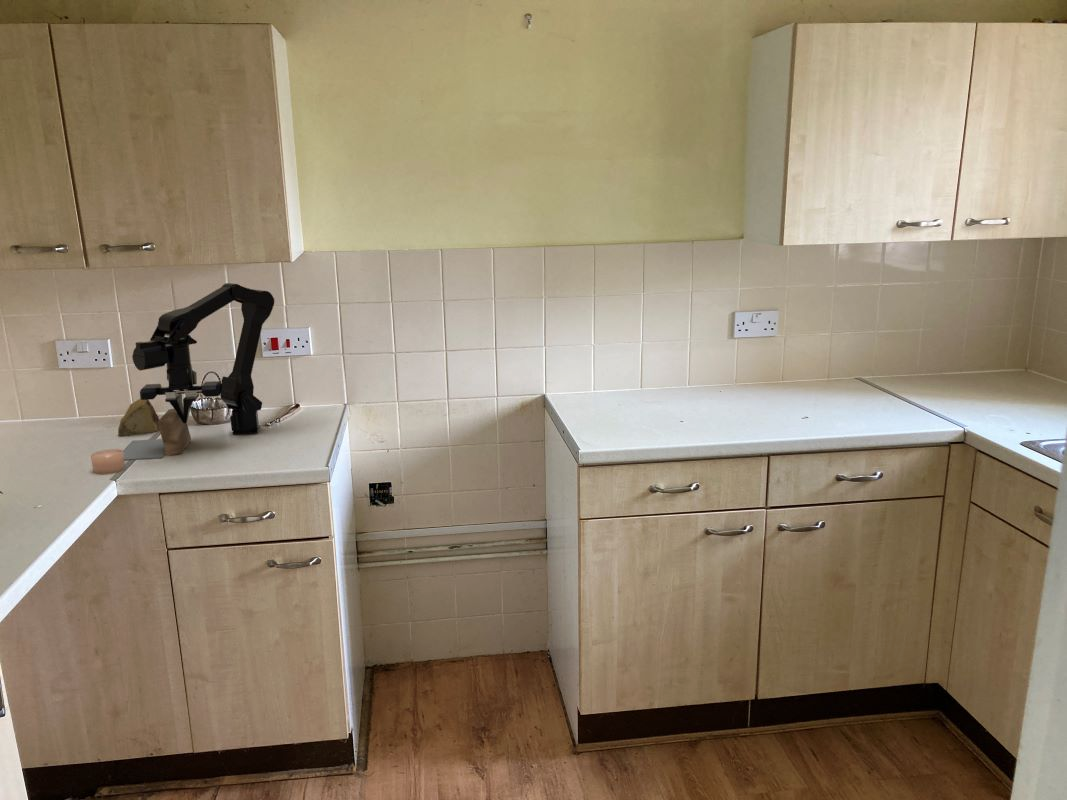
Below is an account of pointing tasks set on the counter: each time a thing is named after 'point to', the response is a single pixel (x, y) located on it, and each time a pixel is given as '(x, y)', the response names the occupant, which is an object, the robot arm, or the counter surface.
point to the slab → (173, 432)
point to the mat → (144, 449)
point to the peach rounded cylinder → (108, 461)
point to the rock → (139, 419)
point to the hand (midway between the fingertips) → (185, 422)
